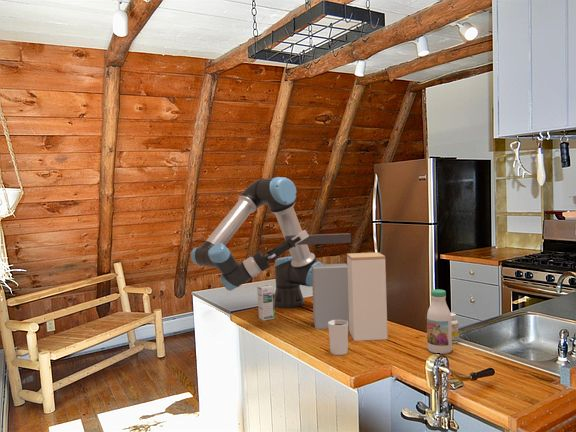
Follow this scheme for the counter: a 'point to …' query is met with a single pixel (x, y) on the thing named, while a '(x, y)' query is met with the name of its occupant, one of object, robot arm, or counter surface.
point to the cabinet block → (367, 296)
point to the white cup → (338, 337)
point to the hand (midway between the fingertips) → (306, 232)
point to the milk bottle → (439, 324)
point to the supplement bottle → (454, 328)
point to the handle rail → (322, 239)
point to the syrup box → (266, 302)
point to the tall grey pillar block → (330, 294)
